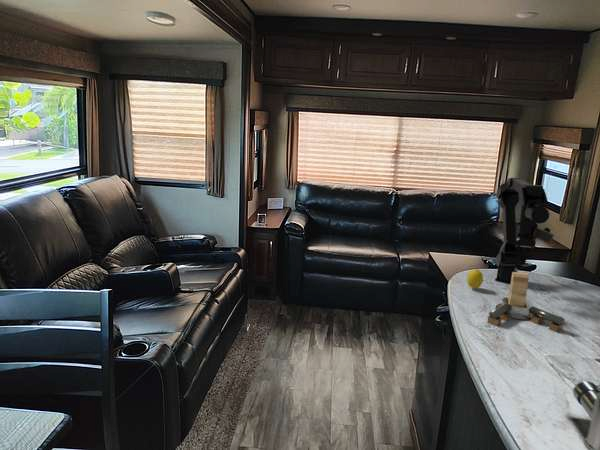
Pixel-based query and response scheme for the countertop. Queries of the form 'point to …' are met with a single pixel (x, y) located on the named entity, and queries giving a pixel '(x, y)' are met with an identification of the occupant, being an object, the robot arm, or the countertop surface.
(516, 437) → the countertop surface
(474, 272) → the lemon
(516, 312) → the grey round socket base
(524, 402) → the countertop surface
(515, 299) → the block
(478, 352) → the countertop surface
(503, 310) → the shaft
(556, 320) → the shaft
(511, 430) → the countertop surface
